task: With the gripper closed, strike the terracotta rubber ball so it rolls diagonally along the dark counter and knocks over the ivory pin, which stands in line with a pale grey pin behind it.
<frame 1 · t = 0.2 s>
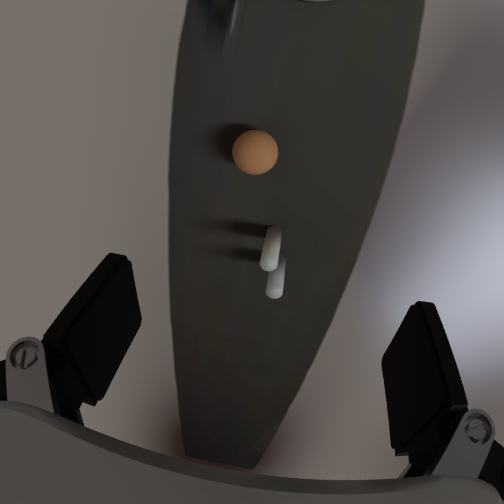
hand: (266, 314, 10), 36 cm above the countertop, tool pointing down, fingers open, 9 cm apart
ball: (255, 152, 40), on the countertop
pin 1: (274, 232, 49), on the countertop
pin 2: (278, 259, 52), on the countertop
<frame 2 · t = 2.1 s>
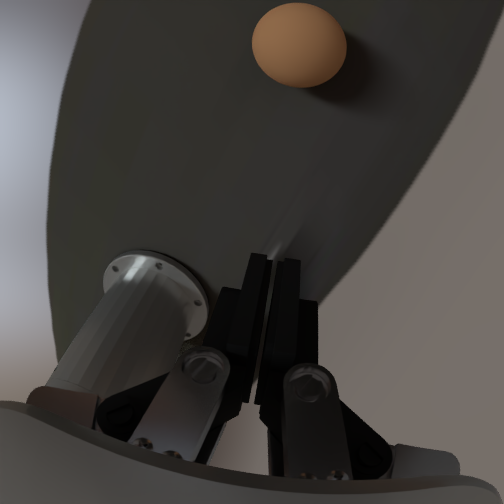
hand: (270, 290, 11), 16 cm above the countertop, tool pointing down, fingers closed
ball: (299, 44, 16), on the countertop
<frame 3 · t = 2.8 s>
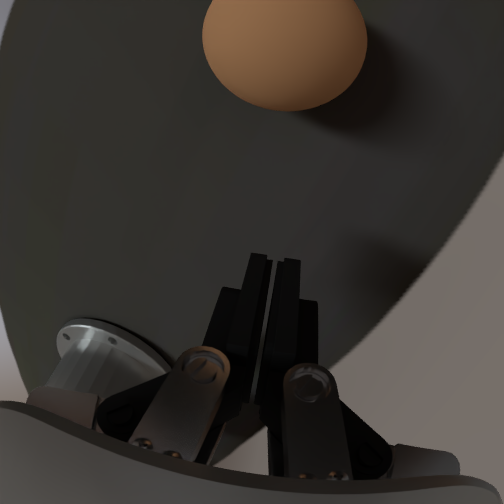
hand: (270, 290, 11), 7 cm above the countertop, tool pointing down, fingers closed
ball: (285, 36, 9), on the countertop
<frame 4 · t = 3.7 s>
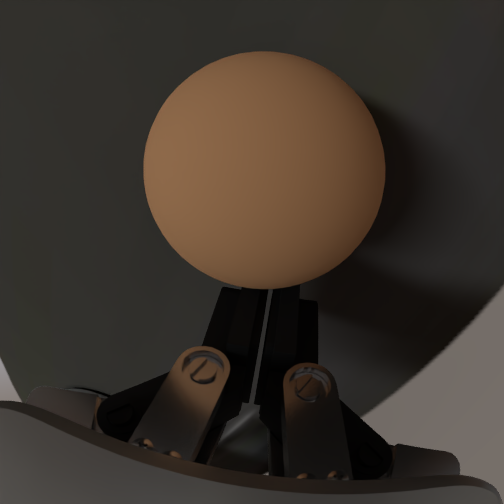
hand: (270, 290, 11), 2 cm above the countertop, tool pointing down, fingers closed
ball: (264, 168, 8), on the countertop, touching gripper
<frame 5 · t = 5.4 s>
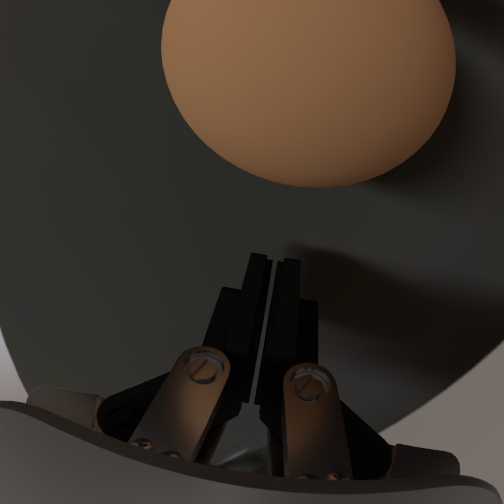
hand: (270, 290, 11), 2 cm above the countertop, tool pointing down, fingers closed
ball: (310, 49, 5), on the countertop
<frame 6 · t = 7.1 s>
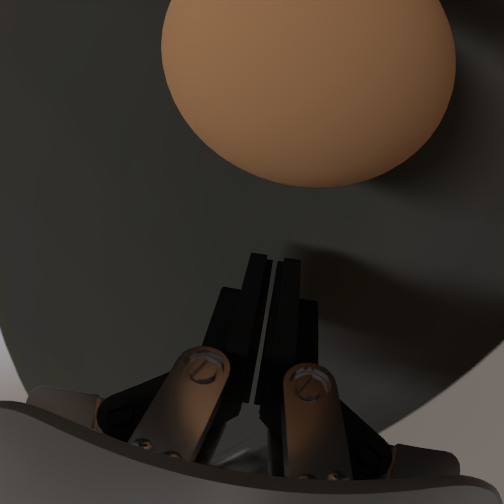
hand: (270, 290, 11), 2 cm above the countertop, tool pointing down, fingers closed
ball: (310, 49, 5), on the countertop
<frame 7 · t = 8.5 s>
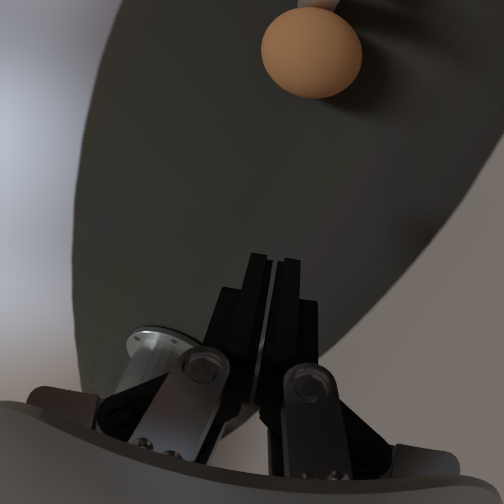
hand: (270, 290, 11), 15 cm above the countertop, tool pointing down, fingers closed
ball: (312, 52, 15), on the countertop
pin 1: (315, 7, 15), on the countertop, tilted 19°
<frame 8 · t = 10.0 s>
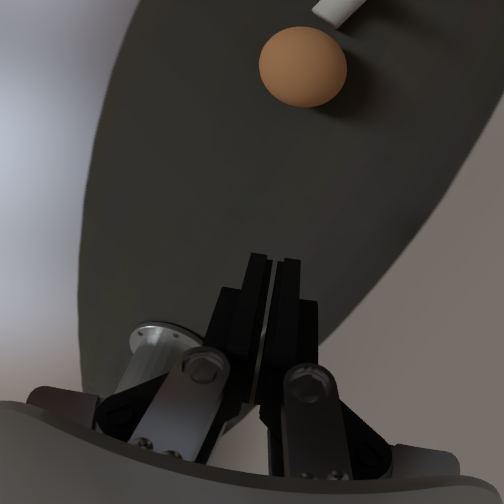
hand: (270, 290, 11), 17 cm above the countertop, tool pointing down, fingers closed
ball: (303, 66, 18), on the countertop
pin 1: (324, 18, 17), point 1 cm above the countertop, tilted 90°
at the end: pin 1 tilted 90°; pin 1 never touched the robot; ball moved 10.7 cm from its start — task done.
